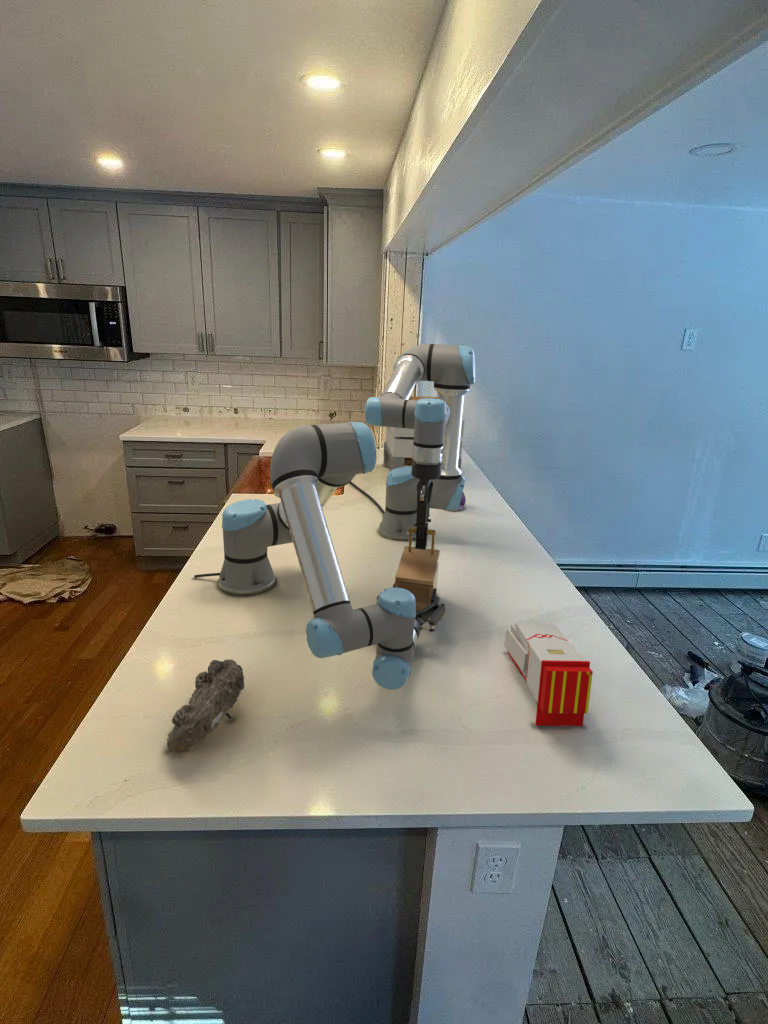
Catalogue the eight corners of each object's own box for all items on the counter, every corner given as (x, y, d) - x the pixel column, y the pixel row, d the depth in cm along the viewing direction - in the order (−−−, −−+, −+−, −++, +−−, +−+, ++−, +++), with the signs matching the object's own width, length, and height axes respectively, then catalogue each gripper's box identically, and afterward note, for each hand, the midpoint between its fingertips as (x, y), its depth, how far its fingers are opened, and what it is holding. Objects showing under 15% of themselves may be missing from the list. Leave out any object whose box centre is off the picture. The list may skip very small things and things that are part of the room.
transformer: (382, 463, 289) (386, 382, 275) (445, 464, 293) (451, 384, 279) (390, 482, 257) (394, 392, 243) (460, 483, 261) (468, 394, 247)
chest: (401, 590, 160) (403, 558, 157) (436, 594, 158) (438, 562, 155) (393, 615, 146) (395, 581, 143) (430, 620, 145) (433, 586, 142)
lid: (404, 549, 156) (405, 522, 152) (439, 553, 155) (441, 526, 151) (395, 580, 143) (395, 552, 139) (433, 585, 142) (435, 556, 138)
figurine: (452, 513, 222) (455, 476, 217) (438, 505, 231) (441, 469, 226) (471, 510, 227) (475, 474, 221) (457, 502, 235) (460, 467, 230)
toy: (550, 607, 134) (601, 667, 105) (545, 659, 137) (594, 732, 108) (499, 606, 134) (537, 666, 104) (495, 659, 137) (530, 731, 107)
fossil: (192, 660, 117) (244, 628, 112) (224, 691, 120) (276, 661, 115) (142, 746, 98) (202, 712, 93) (182, 779, 101) (242, 748, 96)
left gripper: (352, 643, 129) (372, 597, 150) (450, 657, 126) (456, 608, 146) (353, 614, 127) (373, 572, 147) (452, 628, 123) (459, 582, 144)
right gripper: (439, 470, 136) (432, 559, 144) (444, 455, 149) (437, 538, 157) (408, 467, 137) (402, 556, 145) (416, 453, 150) (410, 535, 158)
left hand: (414, 590), depth 147 cm, fingers closed on chest, 10 cm apart
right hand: (420, 546), depth 151 cm, fingers closed on lid, 1 cm apart
